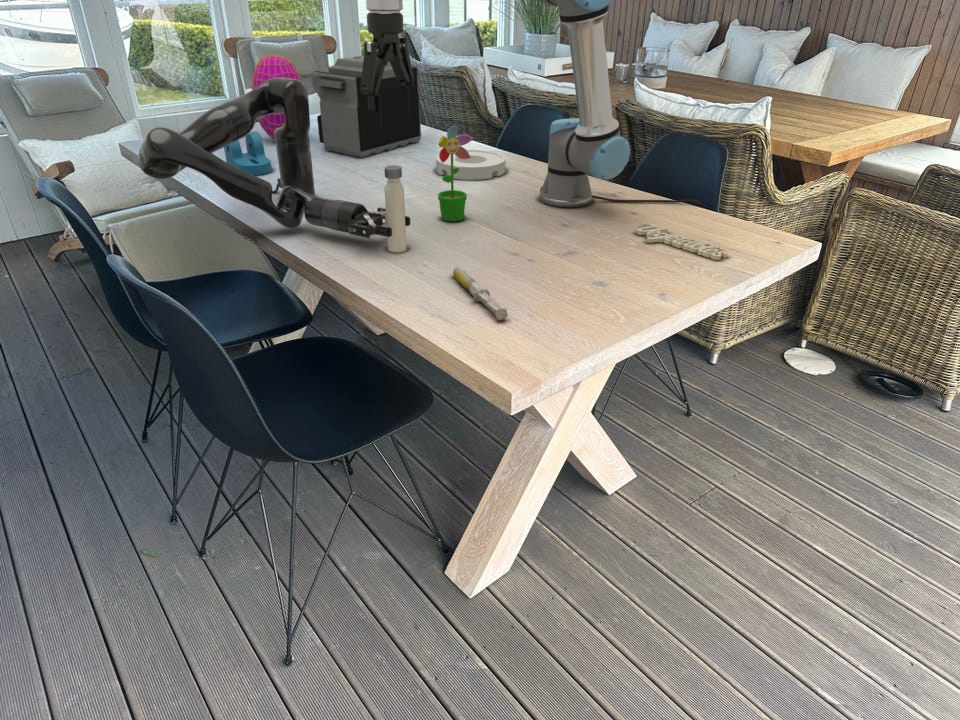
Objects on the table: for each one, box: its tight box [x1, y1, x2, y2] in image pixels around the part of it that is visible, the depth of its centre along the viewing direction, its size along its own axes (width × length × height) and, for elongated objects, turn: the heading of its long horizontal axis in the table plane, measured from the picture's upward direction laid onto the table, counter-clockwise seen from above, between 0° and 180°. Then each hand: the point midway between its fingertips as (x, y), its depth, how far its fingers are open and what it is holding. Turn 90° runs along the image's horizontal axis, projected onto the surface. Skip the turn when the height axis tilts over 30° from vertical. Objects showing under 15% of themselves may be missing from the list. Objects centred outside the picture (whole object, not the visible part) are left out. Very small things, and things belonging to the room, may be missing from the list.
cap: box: [384, 164, 403, 180], centre depth 159 cm, size 4×4×2 cm
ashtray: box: [435, 149, 507, 181], centre depth 229 cm, size 23×23×4 cm
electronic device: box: [310, 55, 422, 159], centre depth 250 cm, size 37×22×30 cm, turn 144°
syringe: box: [452, 266, 509, 321], centre depth 145 cm, size 25×4×3 cm, turn 21°
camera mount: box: [223, 131, 272, 176], centre depth 226 cm, size 18×10×10 cm, turn 35°
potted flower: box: [437, 124, 474, 222], centre depth 182 cm, size 9×8×25 cm
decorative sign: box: [636, 222, 728, 261], centre depth 173 cm, size 26×1×10 cm
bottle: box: [383, 178, 407, 253], centre depth 163 cm, size 4×4×20 cm
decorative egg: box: [251, 54, 303, 140], centre depth 257 cm, size 19×19×30 cm
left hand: (400, 226), depth 164 cm, fingers open, 8 cm apart
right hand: (390, 121), depth 153 cm, fingers open, 11 cm apart
